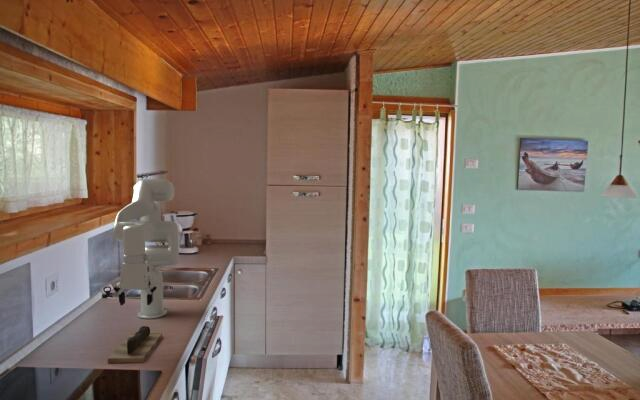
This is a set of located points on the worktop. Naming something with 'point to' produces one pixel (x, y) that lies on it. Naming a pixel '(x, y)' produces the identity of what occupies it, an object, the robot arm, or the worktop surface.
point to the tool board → (138, 354)
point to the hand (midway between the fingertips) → (136, 304)
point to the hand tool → (137, 338)
